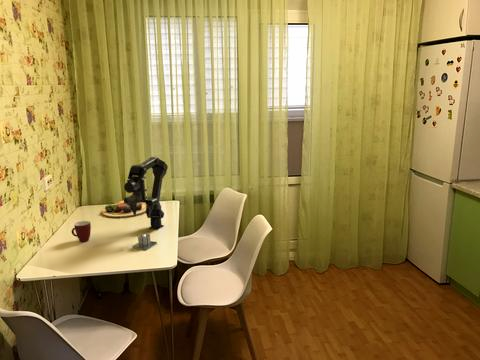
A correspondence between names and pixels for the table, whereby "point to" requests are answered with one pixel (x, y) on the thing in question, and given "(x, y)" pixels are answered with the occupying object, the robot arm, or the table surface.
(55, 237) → the table surface
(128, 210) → the wooden plate with food
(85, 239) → the mug
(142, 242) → the hub ring
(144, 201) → the robot arm
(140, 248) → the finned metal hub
